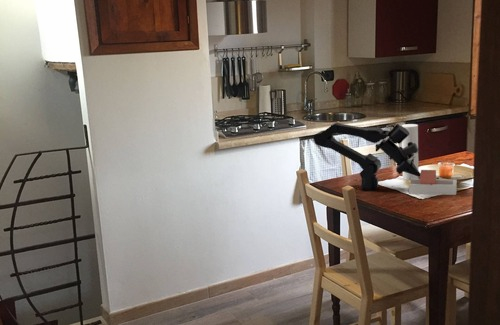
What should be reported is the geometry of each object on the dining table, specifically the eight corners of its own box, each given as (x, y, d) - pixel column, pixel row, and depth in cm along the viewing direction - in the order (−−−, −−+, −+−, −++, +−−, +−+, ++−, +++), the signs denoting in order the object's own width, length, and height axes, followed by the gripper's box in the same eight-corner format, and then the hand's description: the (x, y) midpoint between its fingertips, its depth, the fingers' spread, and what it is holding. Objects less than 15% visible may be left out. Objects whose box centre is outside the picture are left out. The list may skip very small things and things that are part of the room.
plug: (420, 191, 221) (420, 173, 219) (421, 187, 226) (421, 169, 224) (435, 192, 218) (435, 173, 216) (436, 187, 224) (436, 169, 222)
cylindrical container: (421, 177, 242) (421, 124, 236) (411, 181, 238) (410, 127, 232) (409, 175, 247) (408, 123, 242) (399, 178, 244) (398, 126, 238)
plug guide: (408, 193, 221) (408, 184, 220) (410, 187, 229) (410, 178, 228) (456, 194, 214) (456, 185, 213) (456, 188, 222) (456, 179, 221)
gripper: (403, 142, 212) (432, 168, 210) (408, 133, 228) (435, 157, 227) (384, 161, 217) (412, 186, 215) (390, 150, 233) (416, 174, 231)
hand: (420, 175), depth 222 cm, fingers closed, pressing on plug
